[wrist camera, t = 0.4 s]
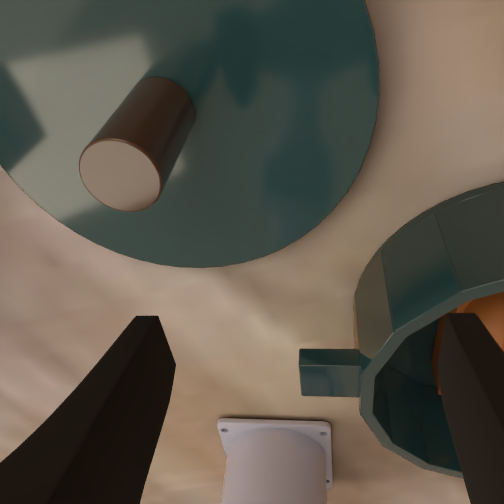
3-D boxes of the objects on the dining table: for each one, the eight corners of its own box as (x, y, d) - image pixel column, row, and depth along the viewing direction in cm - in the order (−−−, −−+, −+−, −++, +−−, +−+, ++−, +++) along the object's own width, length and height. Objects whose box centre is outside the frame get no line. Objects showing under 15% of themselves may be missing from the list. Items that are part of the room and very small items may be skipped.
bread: (517, 365, 26) (545, 436, 23) (430, 364, 27) (445, 432, 24) (561, 247, 21) (605, 318, 18) (451, 250, 22) (474, 318, 18)
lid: (369, 249, 23) (382, 351, 18) (59, 257, 25) (1, 347, 21) (390, -221, 13) (432, -266, 8) (-131, -127, 15) (-330, -120, 11)
